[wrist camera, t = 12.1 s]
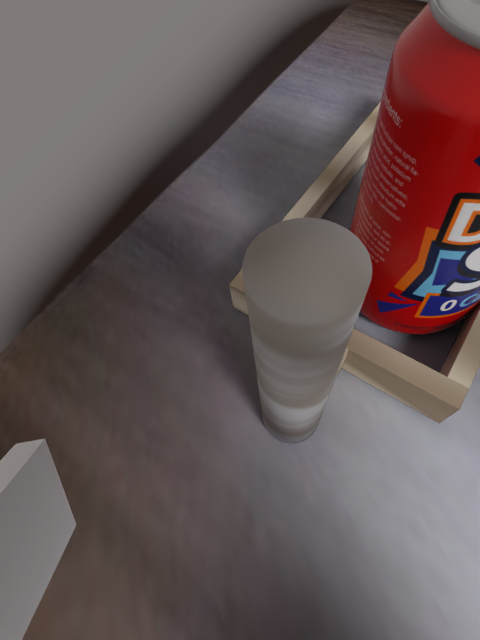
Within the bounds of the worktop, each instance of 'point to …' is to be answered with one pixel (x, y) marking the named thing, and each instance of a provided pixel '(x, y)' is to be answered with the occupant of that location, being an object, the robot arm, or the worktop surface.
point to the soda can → (425, 176)
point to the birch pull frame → (331, 314)
